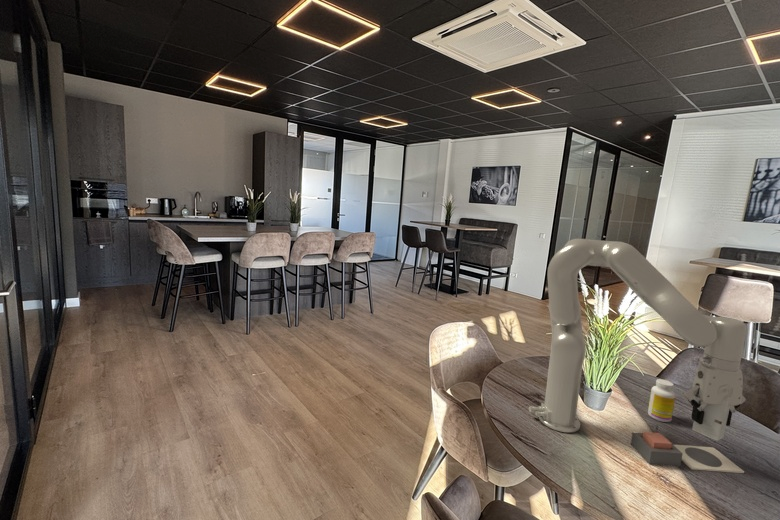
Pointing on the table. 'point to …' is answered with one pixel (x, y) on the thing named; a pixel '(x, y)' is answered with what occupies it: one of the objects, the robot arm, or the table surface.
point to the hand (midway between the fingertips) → (710, 421)
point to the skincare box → (713, 420)
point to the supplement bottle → (662, 401)
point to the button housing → (656, 452)
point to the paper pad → (706, 459)
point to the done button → (656, 440)
